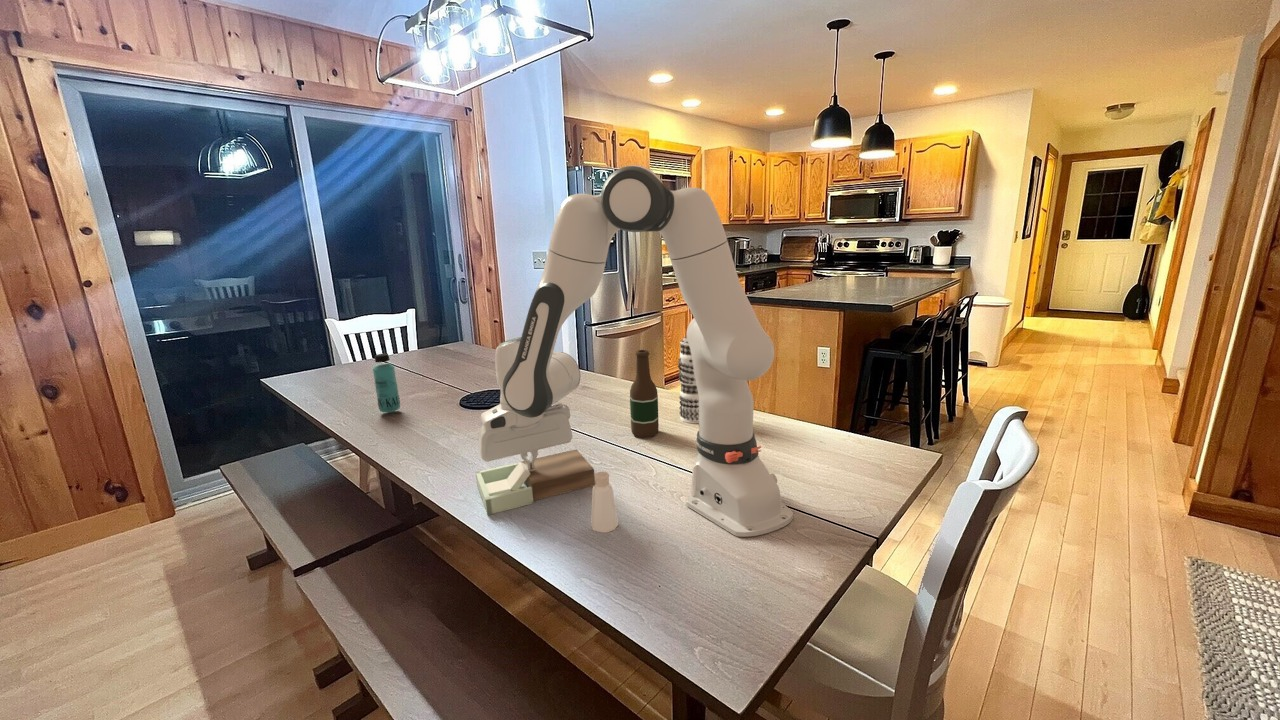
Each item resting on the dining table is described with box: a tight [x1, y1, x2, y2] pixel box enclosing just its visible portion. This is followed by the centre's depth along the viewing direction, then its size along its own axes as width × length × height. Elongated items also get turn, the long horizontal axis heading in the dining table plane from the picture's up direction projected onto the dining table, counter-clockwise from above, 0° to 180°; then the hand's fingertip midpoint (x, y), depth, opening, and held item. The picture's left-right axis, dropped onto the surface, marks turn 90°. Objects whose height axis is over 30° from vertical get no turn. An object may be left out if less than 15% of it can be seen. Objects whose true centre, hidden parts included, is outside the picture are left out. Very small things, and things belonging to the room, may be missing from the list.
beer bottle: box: [629, 349, 660, 440], centre depth 139 cm, size 8×8×24 cm
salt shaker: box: [590, 471, 619, 534], centre depth 98 cm, size 5×5×11 cm
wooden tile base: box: [521, 448, 596, 502], centre depth 117 cm, size 12×14×4 cm
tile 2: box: [506, 461, 530, 491], centre depth 113 cm, size 5×5×2 cm
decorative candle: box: [677, 336, 699, 424], centre depth 149 cm, size 9×9×25 cm
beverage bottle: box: [372, 353, 401, 413], centre depth 163 cm, size 6×7×20 cm
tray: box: [475, 462, 534, 516], centre depth 112 cm, size 14×10×4 cm
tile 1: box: [485, 479, 511, 496], centre depth 112 cm, size 5×5×2 cm
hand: (530, 468), depth 114 cm, fingers closed, pressing on tile 2
